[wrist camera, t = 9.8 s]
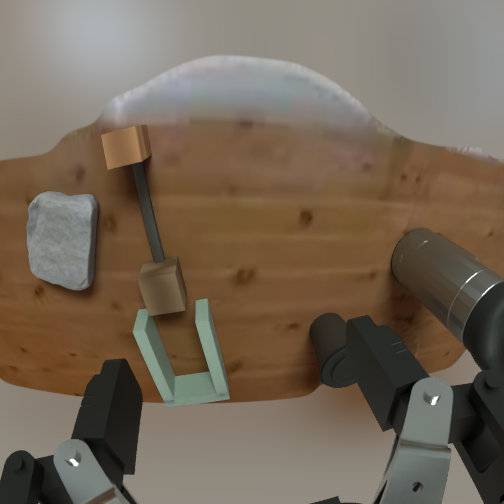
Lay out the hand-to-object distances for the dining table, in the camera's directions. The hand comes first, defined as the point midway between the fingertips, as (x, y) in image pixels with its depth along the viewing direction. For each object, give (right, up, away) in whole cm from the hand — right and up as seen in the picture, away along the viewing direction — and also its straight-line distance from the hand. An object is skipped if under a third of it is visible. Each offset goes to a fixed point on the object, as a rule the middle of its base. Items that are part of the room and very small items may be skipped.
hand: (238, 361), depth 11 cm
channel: (-9, -9, +33) cm, 36 cm away
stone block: (-23, +6, +25) cm, 35 cm away
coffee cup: (+12, -7, +36) cm, 39 cm away
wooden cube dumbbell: (-12, +8, +26) cm, 29 cm away
